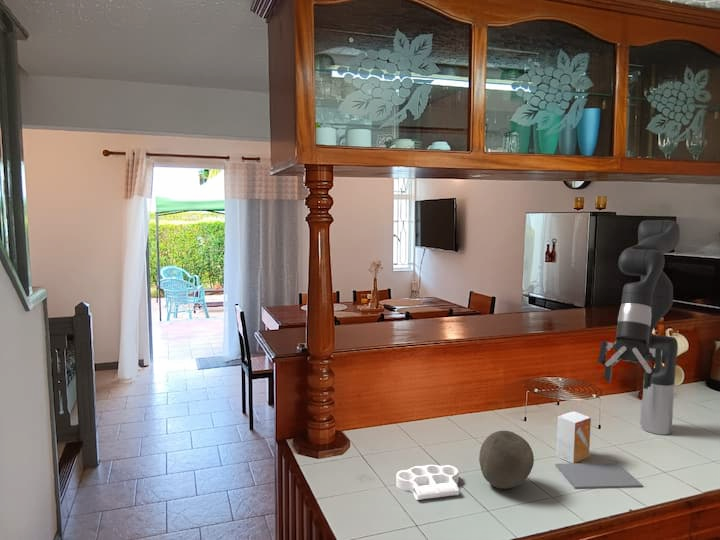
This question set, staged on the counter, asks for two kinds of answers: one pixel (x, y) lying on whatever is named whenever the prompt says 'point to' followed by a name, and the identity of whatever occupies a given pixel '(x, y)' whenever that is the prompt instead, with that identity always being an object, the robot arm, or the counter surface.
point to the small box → (573, 437)
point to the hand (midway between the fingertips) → (626, 385)
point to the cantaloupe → (505, 459)
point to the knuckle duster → (429, 481)
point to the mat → (597, 475)
